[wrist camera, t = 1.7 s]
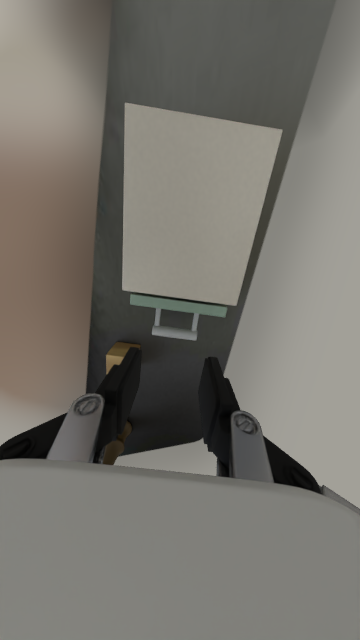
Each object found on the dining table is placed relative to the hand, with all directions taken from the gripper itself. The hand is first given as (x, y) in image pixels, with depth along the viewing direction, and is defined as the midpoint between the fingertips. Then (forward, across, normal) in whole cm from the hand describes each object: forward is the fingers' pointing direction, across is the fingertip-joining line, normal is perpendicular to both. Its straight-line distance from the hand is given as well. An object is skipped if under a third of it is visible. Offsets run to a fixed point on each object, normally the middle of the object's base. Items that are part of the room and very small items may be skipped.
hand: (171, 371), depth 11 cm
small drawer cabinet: (+17, 0, -10) cm, 20 cm away
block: (+17, +8, +11) cm, 22 cm away
